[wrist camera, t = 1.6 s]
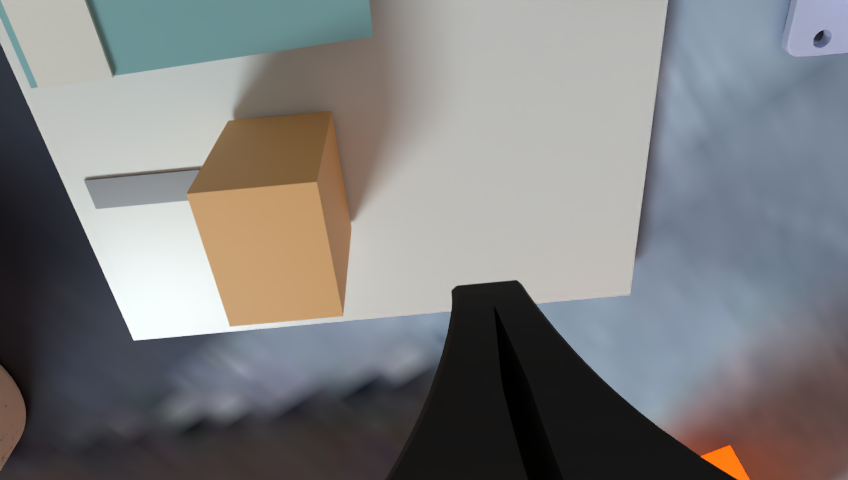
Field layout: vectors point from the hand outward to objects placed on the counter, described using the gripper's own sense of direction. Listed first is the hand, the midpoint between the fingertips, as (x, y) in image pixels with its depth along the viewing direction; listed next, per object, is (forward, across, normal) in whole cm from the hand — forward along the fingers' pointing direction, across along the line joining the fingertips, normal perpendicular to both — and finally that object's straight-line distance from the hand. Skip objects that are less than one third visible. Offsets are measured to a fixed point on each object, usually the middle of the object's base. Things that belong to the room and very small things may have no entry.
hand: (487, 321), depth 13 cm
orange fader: (+7, +5, 0) cm, 9 cm away
